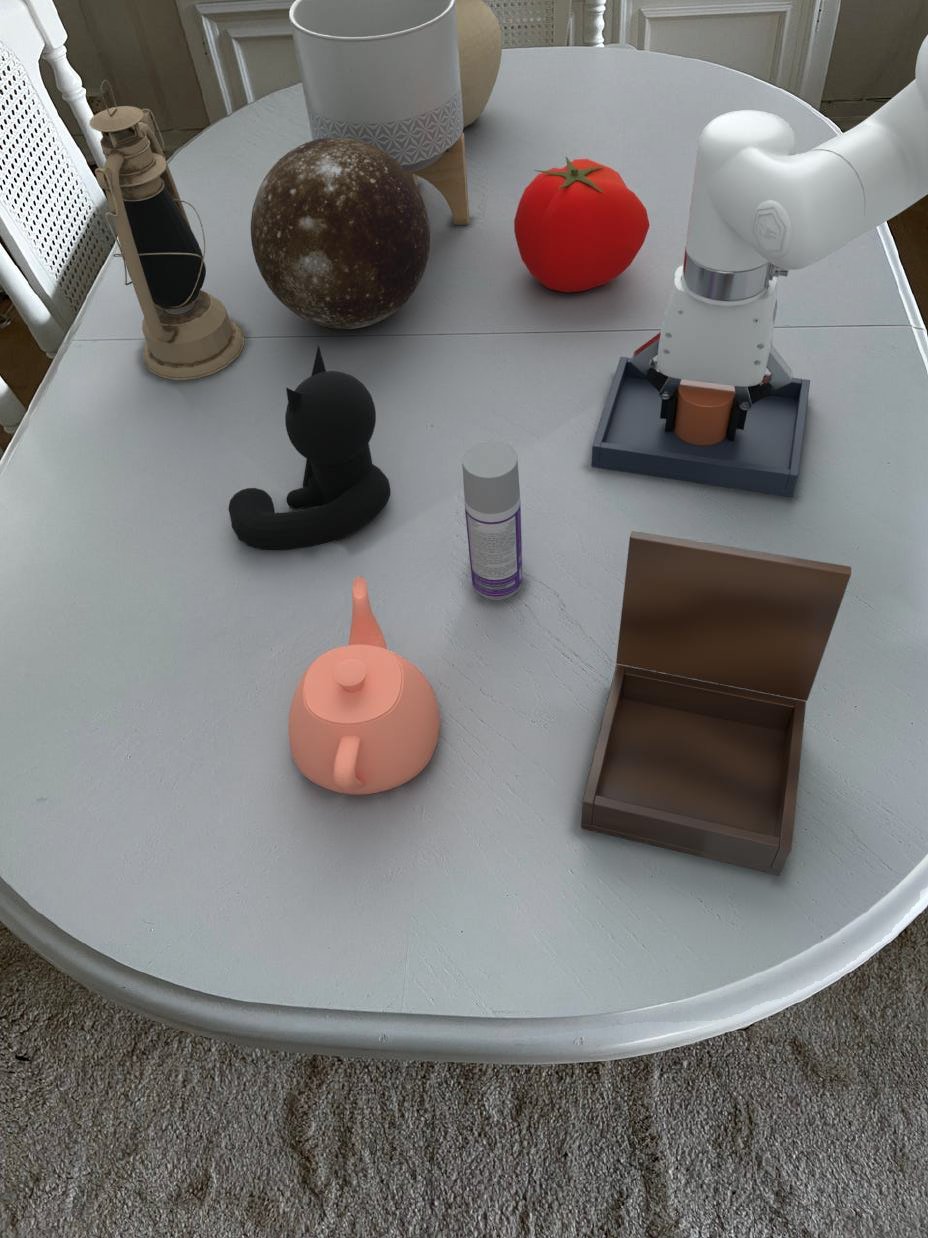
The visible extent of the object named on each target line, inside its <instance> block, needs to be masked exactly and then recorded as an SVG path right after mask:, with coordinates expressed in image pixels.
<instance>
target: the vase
mask: <svg viewBox="0 0 928 1238" xmlns="http://www.w3.org/2000/svg"><path fill="white" fill-rule="evenodd" d="M455 2H456V17H457V32H458V48H459V63H460V78H461V93H462V109H463V129H464V128H467V127H468V126H470V125H472V124H473V123H474V122H475V121H477V119H478V118H479V117H480V116H481V115H482V113H483V112H484V111H485V108H486V107H487V104H488V103H489V100H490V98H491V95H492V92H493V90H494V87H495V85H496V81H497V79H498V75H499V71H500V66H501V62H502V61H501V60H502V54H503V53H502V51H503V37H502V32H501V27H500V24H499V21H498V19H497V17H496V15H495V14H494V12H493V11H492V9H491V8H490V7H489V6H488V5H487V4H486V3H485V2H483V1H482V0H455Z"/></svg>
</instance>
